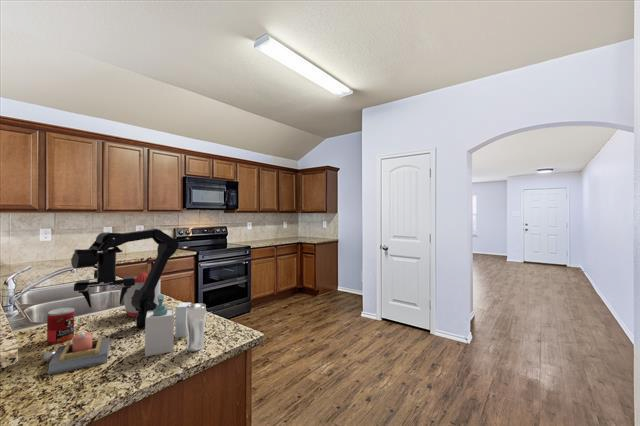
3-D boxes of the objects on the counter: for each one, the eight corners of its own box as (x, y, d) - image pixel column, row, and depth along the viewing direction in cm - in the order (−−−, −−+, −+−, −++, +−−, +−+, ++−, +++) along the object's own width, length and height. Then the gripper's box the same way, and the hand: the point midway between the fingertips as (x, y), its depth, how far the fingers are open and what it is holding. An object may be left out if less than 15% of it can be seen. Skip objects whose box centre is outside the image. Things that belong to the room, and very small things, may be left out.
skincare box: (180, 331, 120) (181, 302, 120) (191, 331, 120) (191, 302, 120) (174, 337, 114) (175, 306, 114) (185, 337, 114) (186, 306, 114)
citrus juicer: (115, 313, 140) (116, 272, 141) (155, 306, 152) (156, 268, 152) (121, 322, 129) (122, 277, 129) (164, 314, 141) (165, 272, 141)
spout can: (92, 352, 99) (93, 327, 99) (90, 358, 95) (91, 332, 95) (73, 356, 97) (74, 330, 97) (71, 362, 92) (71, 335, 93)
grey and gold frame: (109, 346, 106) (110, 334, 106) (107, 362, 94) (107, 349, 94) (46, 357, 96) (46, 345, 96) (34, 377, 85) (35, 363, 85)
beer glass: (209, 345, 107) (210, 304, 108) (196, 353, 101) (196, 309, 101) (194, 342, 110) (195, 302, 110) (180, 350, 103) (181, 307, 103)
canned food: (58, 345, 106) (58, 314, 106) (40, 342, 107) (41, 312, 108) (79, 336, 113) (80, 308, 113) (62, 334, 115) (63, 306, 115)
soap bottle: (144, 357, 98) (145, 300, 98) (146, 346, 105) (147, 293, 106) (173, 352, 102) (174, 297, 102) (172, 342, 109) (174, 291, 110)
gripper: (135, 260, 124) (134, 297, 124) (78, 263, 114) (77, 303, 114) (135, 264, 115) (134, 304, 115) (74, 268, 105) (72, 311, 105)
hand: (105, 305), depth 112 cm, fingers open, 9 cm apart
